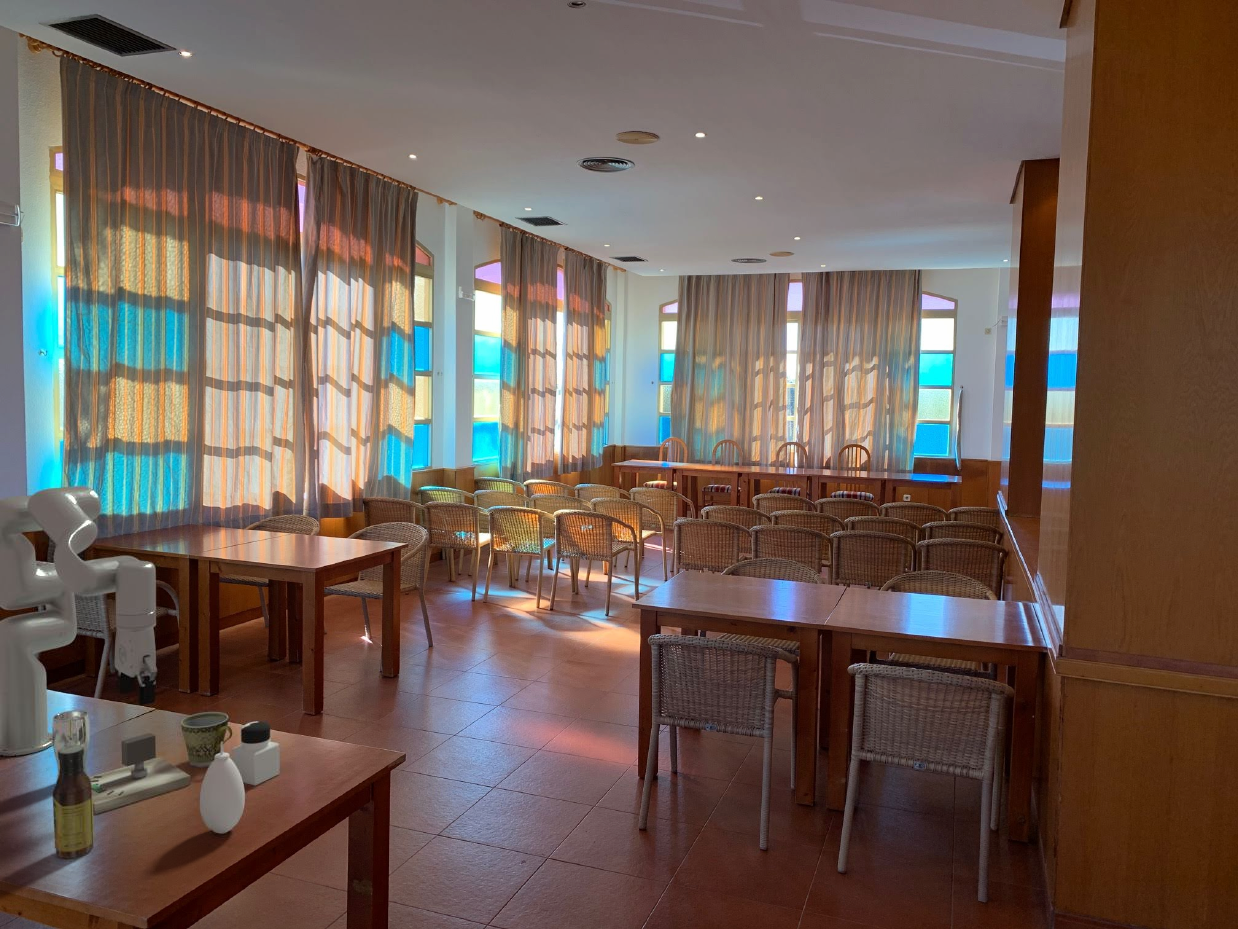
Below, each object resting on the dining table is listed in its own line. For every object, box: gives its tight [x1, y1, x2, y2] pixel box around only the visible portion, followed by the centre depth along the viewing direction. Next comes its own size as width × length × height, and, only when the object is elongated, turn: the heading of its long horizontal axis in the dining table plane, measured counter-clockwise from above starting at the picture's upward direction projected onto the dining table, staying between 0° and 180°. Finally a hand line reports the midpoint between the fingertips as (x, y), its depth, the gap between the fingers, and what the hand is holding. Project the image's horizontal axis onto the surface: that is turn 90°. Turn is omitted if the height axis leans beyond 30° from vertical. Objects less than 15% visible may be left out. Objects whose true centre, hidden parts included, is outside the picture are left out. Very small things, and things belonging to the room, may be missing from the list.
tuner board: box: [89, 756, 191, 815], centre depth 194 cm, size 15×19×2 cm
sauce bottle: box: [52, 745, 95, 859], centre depth 167 cm, size 7×6×20 cm
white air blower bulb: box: [199, 741, 246, 835], centre depth 176 cm, size 8×8×18 cm
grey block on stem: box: [100, 732, 157, 788], centre depth 193 cm, size 3×11×8 cm, turn 144°
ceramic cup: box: [180, 711, 233, 768], centre depth 208 cm, size 13×10×10 cm
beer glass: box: [51, 709, 91, 783], centre depth 196 cm, size 7×7×15 cm
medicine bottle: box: [231, 720, 280, 787], centre depth 201 cm, size 7×7×12 cm
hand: (136, 698), depth 195 cm, fingers open, 9 cm apart
